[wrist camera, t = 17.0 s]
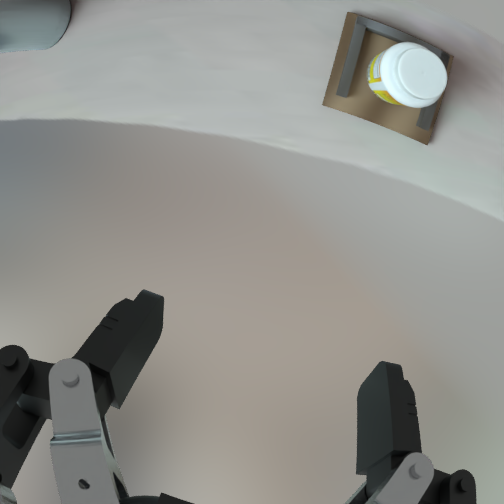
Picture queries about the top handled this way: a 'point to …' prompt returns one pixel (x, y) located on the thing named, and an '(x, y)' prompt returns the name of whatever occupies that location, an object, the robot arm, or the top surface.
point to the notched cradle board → (356, 85)
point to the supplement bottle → (407, 75)
